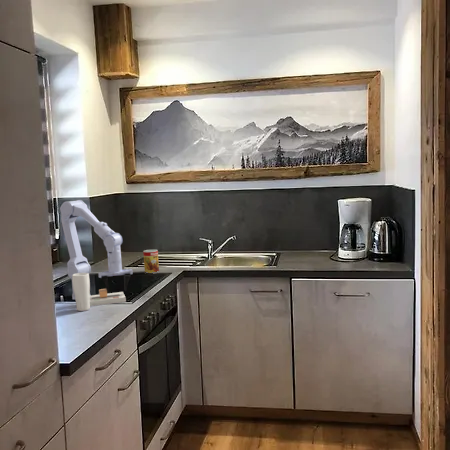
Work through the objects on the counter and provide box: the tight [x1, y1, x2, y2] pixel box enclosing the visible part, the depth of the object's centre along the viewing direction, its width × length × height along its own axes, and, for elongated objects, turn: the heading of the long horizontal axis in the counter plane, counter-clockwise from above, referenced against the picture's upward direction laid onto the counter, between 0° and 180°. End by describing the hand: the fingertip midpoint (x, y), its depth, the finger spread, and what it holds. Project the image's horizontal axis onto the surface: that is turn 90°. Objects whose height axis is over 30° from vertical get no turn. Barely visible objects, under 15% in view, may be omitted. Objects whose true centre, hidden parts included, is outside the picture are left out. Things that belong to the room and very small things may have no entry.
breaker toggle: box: [98, 288, 108, 298], centre depth 235 cm, size 5×3×3 cm, turn 17°
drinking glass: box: [71, 273, 91, 312], centre depth 222 cm, size 7×7×15 cm
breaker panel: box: [90, 291, 127, 307], centre depth 235 cm, size 11×16×2 cm
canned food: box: [142, 249, 160, 273], centre depth 295 cm, size 8×8×12 cm
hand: (117, 291), depth 236 cm, fingers open, 7 cm apart
